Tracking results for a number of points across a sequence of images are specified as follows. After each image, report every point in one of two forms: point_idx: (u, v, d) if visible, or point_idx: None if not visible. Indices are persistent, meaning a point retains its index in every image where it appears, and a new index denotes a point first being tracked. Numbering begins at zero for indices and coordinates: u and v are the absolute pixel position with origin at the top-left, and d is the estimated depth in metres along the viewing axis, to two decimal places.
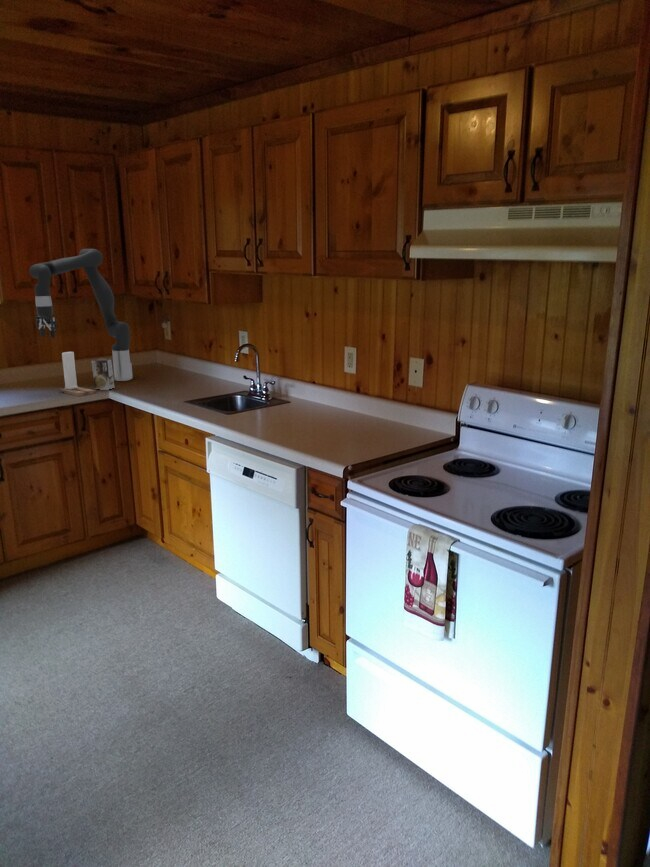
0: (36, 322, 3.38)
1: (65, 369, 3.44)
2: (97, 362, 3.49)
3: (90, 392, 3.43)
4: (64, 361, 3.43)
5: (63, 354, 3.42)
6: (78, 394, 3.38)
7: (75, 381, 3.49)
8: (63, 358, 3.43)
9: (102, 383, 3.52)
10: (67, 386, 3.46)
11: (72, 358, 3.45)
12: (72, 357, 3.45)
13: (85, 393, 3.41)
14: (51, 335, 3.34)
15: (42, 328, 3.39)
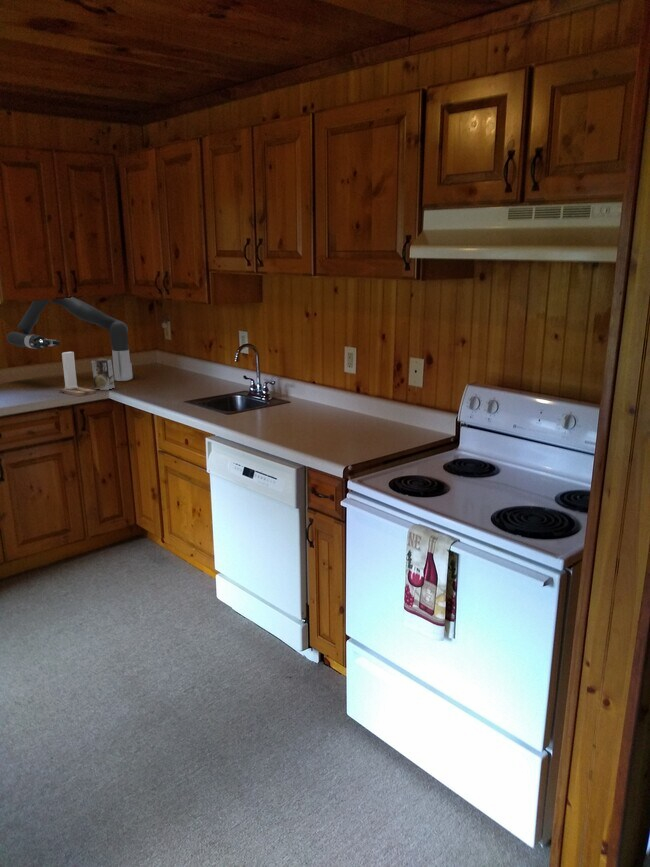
0: None
1: (65, 369, 3.44)
2: (97, 362, 3.49)
3: (90, 392, 3.43)
4: (64, 361, 3.43)
5: (63, 354, 3.42)
6: (78, 394, 3.38)
7: (75, 381, 3.49)
8: (63, 358, 3.43)
9: (102, 383, 3.52)
10: (67, 386, 3.46)
11: (72, 358, 3.45)
12: (72, 357, 3.45)
13: (85, 393, 3.41)
14: (45, 346, 3.47)
15: (54, 342, 3.54)
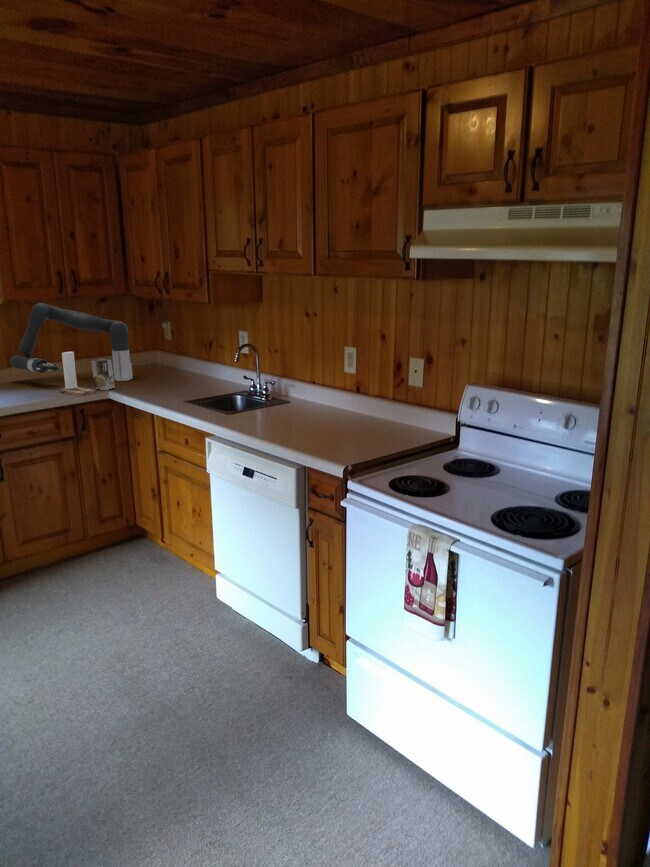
0: None
1: (65, 369, 3.44)
2: (97, 362, 3.49)
3: (90, 392, 3.43)
4: (64, 361, 3.43)
5: (63, 354, 3.42)
6: (78, 394, 3.38)
7: (75, 381, 3.49)
8: (63, 358, 3.43)
9: (102, 383, 3.52)
10: (67, 386, 3.46)
11: (72, 358, 3.45)
12: (72, 357, 3.45)
13: (85, 393, 3.41)
14: (54, 370, 3.53)
15: None
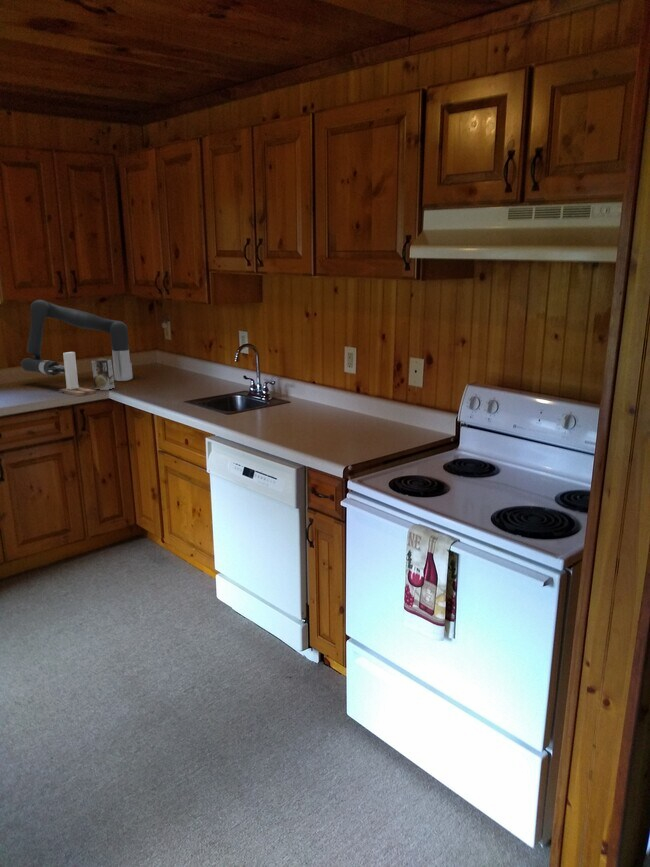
0: None
1: (66, 369, 3.43)
2: (97, 362, 3.49)
3: (90, 392, 3.43)
4: (65, 361, 3.42)
5: (64, 354, 3.42)
6: (78, 394, 3.38)
7: (76, 381, 3.48)
8: (64, 358, 3.42)
9: (102, 383, 3.52)
10: (68, 386, 3.46)
11: (73, 358, 3.44)
12: (73, 357, 3.44)
13: (85, 393, 3.41)
14: None
15: (64, 369, 3.49)
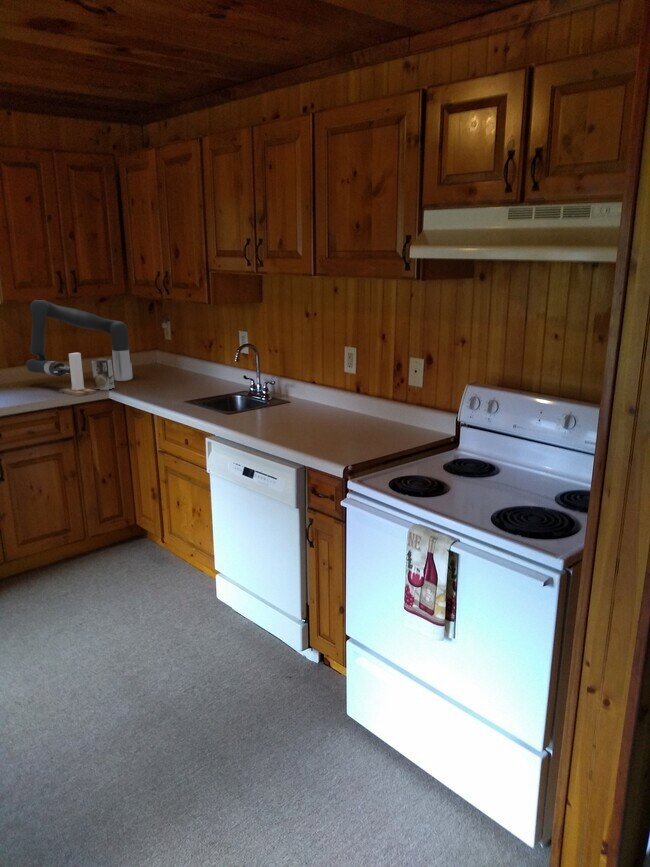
0: None
1: (72, 370, 3.41)
2: (97, 362, 3.49)
3: (90, 392, 3.43)
4: (71, 362, 3.40)
5: (70, 355, 3.39)
6: (78, 394, 3.38)
7: (82, 382, 3.46)
8: (70, 359, 3.40)
9: (102, 383, 3.52)
10: (74, 387, 3.43)
11: (79, 359, 3.42)
12: (79, 358, 3.42)
13: (85, 393, 3.41)
14: None
15: None
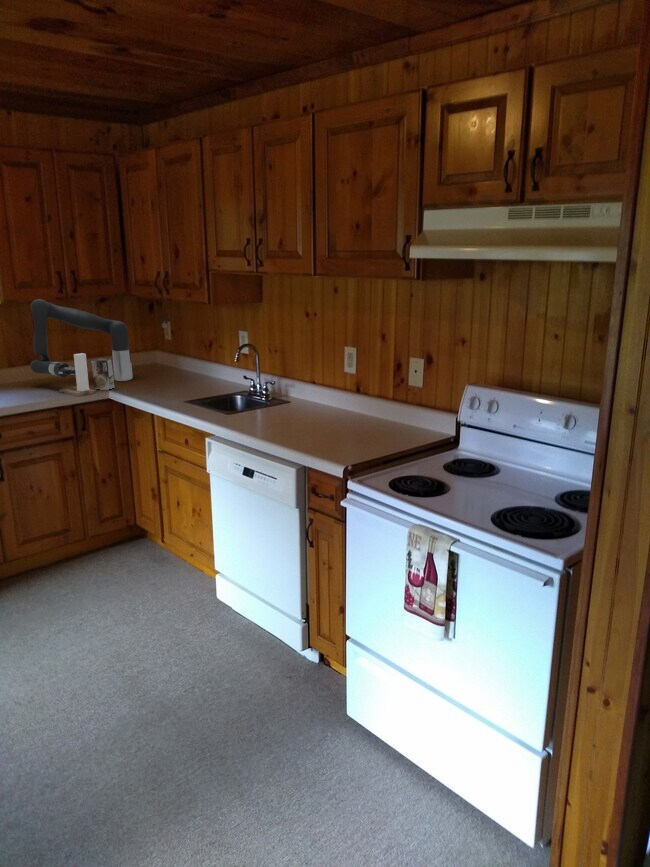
0: None
1: (77, 371, 3.39)
2: (97, 362, 3.49)
3: (90, 392, 3.43)
4: (76, 363, 3.38)
5: (75, 356, 3.37)
6: (78, 394, 3.38)
7: (87, 383, 3.43)
8: (75, 360, 3.38)
9: (102, 383, 3.52)
10: (79, 388, 3.41)
11: (84, 360, 3.40)
12: (84, 359, 3.40)
13: (85, 393, 3.41)
14: None
15: None
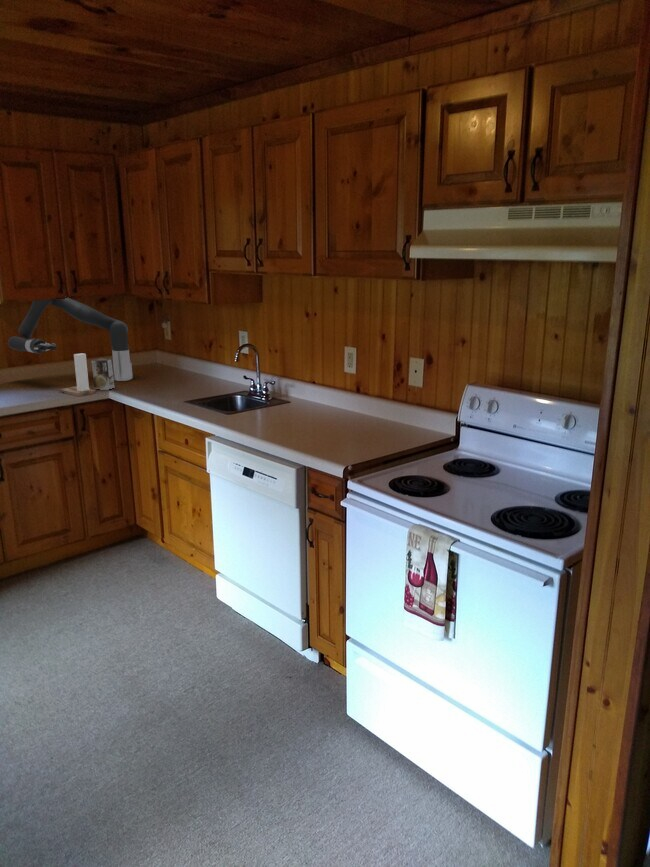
0: None
1: (77, 371, 3.39)
2: (97, 362, 3.49)
3: (90, 392, 3.43)
4: (76, 363, 3.38)
5: (75, 356, 3.37)
6: (78, 394, 3.38)
7: (87, 383, 3.43)
8: (75, 360, 3.37)
9: (102, 383, 3.52)
10: (79, 388, 3.41)
11: (84, 360, 3.40)
12: (84, 359, 3.40)
13: (85, 393, 3.41)
14: (52, 349, 3.50)
15: None
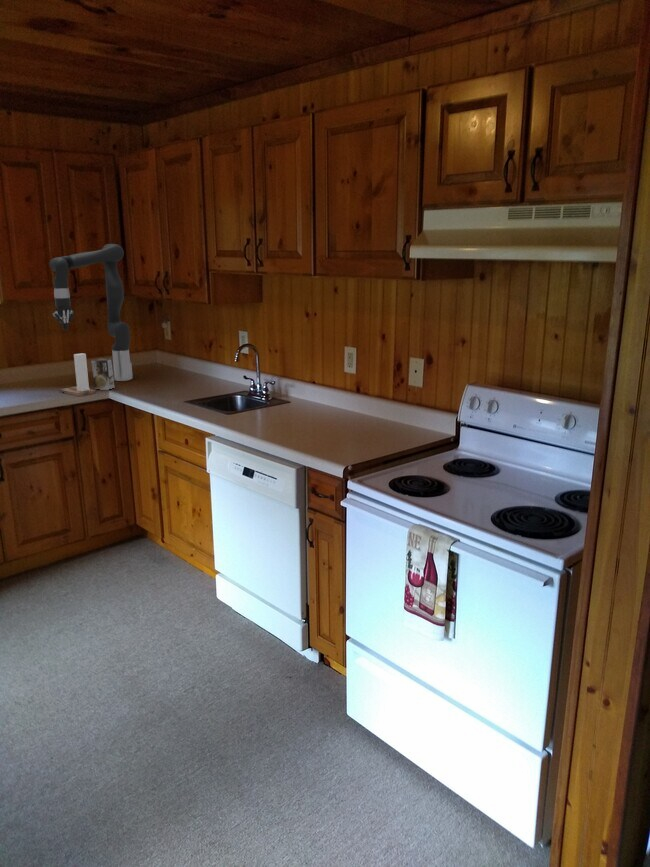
0: None
1: (77, 371, 3.39)
2: (97, 362, 3.49)
3: (90, 392, 3.43)
4: (76, 363, 3.38)
5: (75, 356, 3.37)
6: (78, 394, 3.38)
7: (87, 383, 3.43)
8: (75, 360, 3.37)
9: (102, 383, 3.52)
10: (79, 388, 3.41)
11: (84, 360, 3.40)
12: (84, 359, 3.40)
13: (85, 393, 3.41)
14: None
15: None
